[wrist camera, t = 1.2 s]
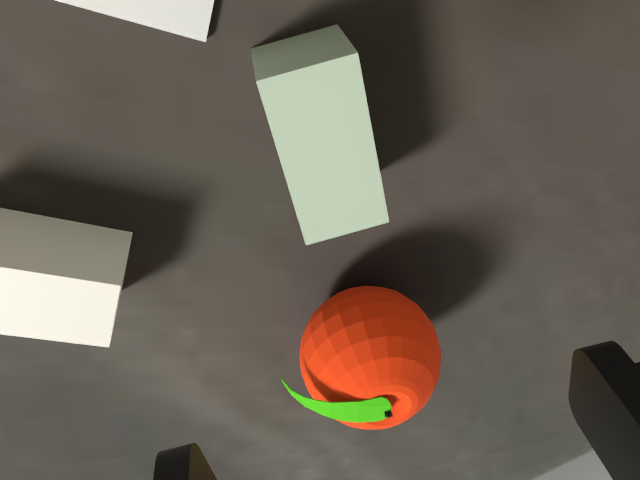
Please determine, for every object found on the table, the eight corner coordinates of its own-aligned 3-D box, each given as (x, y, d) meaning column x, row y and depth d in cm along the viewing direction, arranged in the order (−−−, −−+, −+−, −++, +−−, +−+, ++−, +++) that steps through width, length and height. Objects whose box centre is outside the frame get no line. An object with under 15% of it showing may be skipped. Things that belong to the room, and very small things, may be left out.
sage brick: (250, 47, 21) (255, 81, 18) (336, 23, 21) (358, 52, 18) (294, 196, 25) (306, 245, 22) (367, 176, 25) (389, 222, 22)
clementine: (271, 360, 31) (284, 474, 25) (271, 262, 27) (287, 370, 21) (407, 349, 32) (449, 455, 27) (426, 254, 28) (479, 354, 23)
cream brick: (-40, 263, 25) (-79, 324, 22) (-41, 198, 23) (-82, 254, 20) (122, 288, 27) (109, 347, 24) (132, 230, 25) (121, 285, 22)
